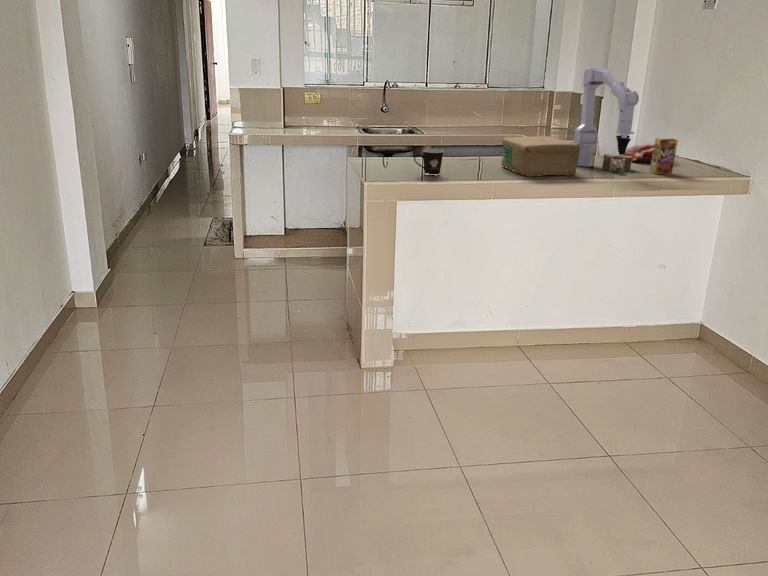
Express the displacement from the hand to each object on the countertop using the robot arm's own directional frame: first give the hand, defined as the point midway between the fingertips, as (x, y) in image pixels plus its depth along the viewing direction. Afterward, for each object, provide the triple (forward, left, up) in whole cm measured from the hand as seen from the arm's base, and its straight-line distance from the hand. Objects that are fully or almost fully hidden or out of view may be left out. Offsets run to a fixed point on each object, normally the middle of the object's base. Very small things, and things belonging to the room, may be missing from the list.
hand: (621, 153), depth 289 cm
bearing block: (0, +17, -10) cm, 20 cm away
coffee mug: (-78, -28, -10) cm, 84 cm away
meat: (+14, +46, -10) cm, 50 cm away
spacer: (0, +13, -10) cm, 16 cm away
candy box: (+19, +14, -10) cm, 26 cm away
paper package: (-35, -1, -10) cm, 36 cm away
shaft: (0, +10, -10) cm, 14 cm away
